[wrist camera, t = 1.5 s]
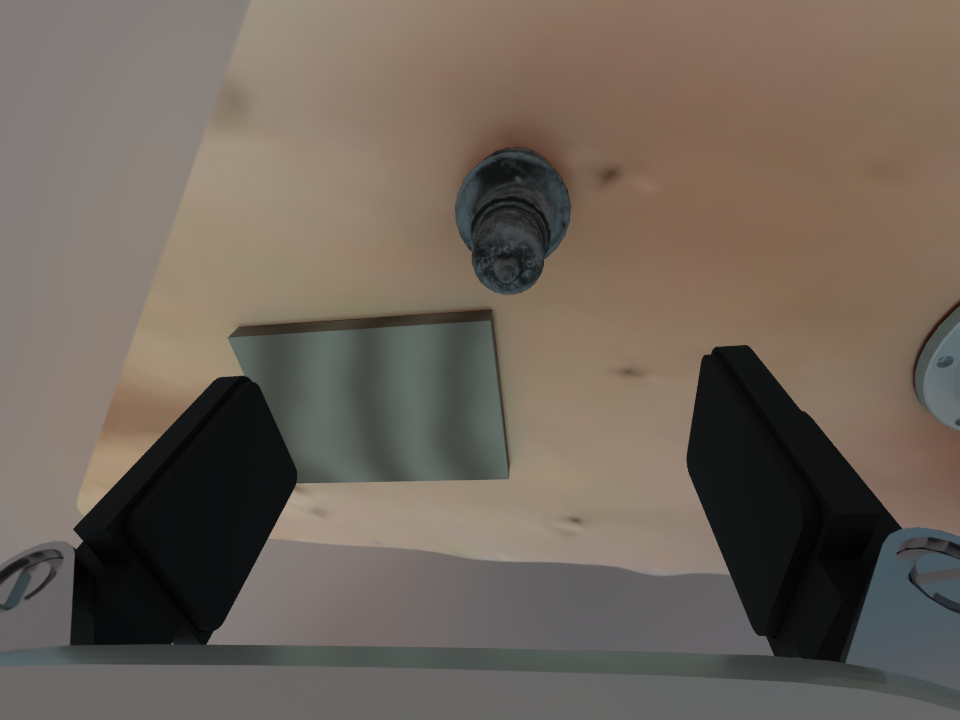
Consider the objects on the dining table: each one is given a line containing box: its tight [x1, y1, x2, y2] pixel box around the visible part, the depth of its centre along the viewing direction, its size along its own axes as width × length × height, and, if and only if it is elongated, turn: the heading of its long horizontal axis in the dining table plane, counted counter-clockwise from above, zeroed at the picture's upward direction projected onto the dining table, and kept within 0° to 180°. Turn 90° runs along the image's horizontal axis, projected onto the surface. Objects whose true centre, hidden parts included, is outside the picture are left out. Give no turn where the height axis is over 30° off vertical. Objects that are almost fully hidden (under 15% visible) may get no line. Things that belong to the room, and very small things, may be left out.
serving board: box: [228, 310, 510, 483], centre depth 35 cm, size 18×14×2 cm
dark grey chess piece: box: [455, 148, 571, 295], centre depth 22 cm, size 6×6×12 cm
